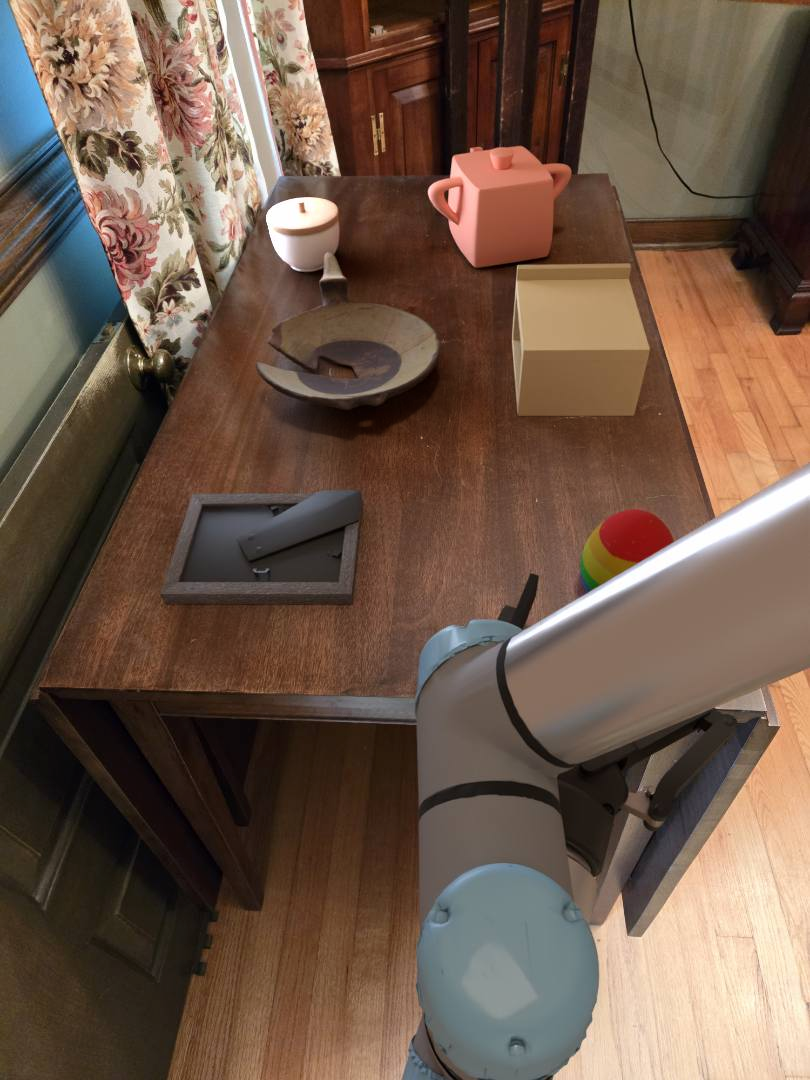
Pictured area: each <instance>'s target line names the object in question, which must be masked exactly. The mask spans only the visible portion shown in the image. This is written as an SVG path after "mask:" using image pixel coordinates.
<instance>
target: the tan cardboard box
mask: <svg viewBox="0 0 810 1080" xmlns="http://www.w3.org/2000/svg"><path fill="white" fill-rule="evenodd" d="M631 271H632V265H631V263H629V262H628V263H627V262H626V263H574V264H573V263H567V264H560V263H559V264H558V263H557V264H518V265H516V279H515V291H514V304H513V316H512V331H511V332H512V333H511V349H512V360H513V361H512V363H513V374H514V388H515V399H516V412H517V414H516V415H517V417H635V415H636V410H637V406H638V401H639V397H640V393H641V389H642V385H643V381H644V377H645V372H646V369H647V365H648V361H649V356H650V355H649V354H650V352H651V347H650V344H649V341H648V338H647V335H646V332H645V329H644V324H643V320H642V318H641V315H640V311H639V308H638V304H637V301H636V298H635V295H634V292H633V288H632V284H631V282H630V277H631Z"/></svg>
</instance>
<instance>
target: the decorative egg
mask: <svg viewBox="0 0 810 1080" xmlns="http://www.w3.org/2000/svg"><path fill="white" fill-rule="evenodd" d="M673 542H675V539H674V537H673V533H672V532H671V531H670V529H669V528H668V526H667V525H666V524H665V522H664V521H663V520H662V519H661V518H659V517H658V516H657V515H655V514H654V513H652V512H650V511H648V510H644V509H636V508H635V509H633V508H632V509H626V510H622V511H619V512H616V513H613V514H611V515H610V516H608V517H607V518H605V519H604V520H603V521H602V522H601V523H600V524H599V525H598V526H597V527H596V528H594V530H593V531H592V533H590V535H589V537H588V539H587V541H586V543H585V544H584V547H583V550H582V553H581V558H580V565H579V569H580V578H581V583H582V585H583V588H584V591H585V592H586V594H587V593H588V592H590V591H592V590H593V589H595V588H597V587H598V586H600V585H602V584H604V583H605V582H607V581H609V580H610V579H612V578H614V577H615V576H617V575H619V574H620V573H622V572H624V571H626V570H627V569H629V568H631V567H632V566H634V565H636V564H637V563H639V562H641V561H642V560H644V559H646V558H648V557H649V556H651V555H653V554H654V553H656V552H658V551H659V550H661V549H663V548H665V547H666V546H668V545H670V544H671V543H673Z"/></svg>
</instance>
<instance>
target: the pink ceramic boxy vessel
mask: <svg viewBox="0 0 810 1080" xmlns="http://www.w3.org/2000/svg"><path fill="white" fill-rule="evenodd" d="M450 167H451V168H450V175H449V178H444V179H441V180H437V181H435V182H433V183H432V184H431V185H430V186H429V187H428V189H427V195H428V198H429V201H430V202H431V204H432V206H433V207H434V208H435V209H436V210H437V211H438V212H439V213H440V214H442V215H443V216H444V217H446V218H447V220H448V226H449V230H450V233H451V235H452V238H453V240H454V242H455V244H456V246H457V247H458V249H459V250H460V252H461V253H462V254H463V256H464V257H465V258H466V260H467V261H468V262H469V264H471V265H472V266H473V267H474V268H485V267H492V266H499V265H504V264H511V263H517V262H524V261H530V260H535V259H541V258H545V257H548V255H549V253H550V250H551V246H552V241H553V234H554V233H553V231H554V207H555V206H554V205H555V203H554V202H555V200H557V198H559V196H560V195H561V194H562V193H563V192H564V190H565V189H566V187H567V186H568V184H569V182H570V180H571V177H572V172H573V171H572V169H571V167H570V166H569V165H567V164H565V163H557V162H555V163H553V162H552V163H544V164H543V163H542V162H541V161H540V159H538V158H537V157H536V156H535V155H534V154H533V153H532V152H531V151H530V150H528V149H527V148H526V147H524V146H522V145H516V146H507V147H506V146H505V147H503V146H500V147H494V148H492V149H485V150H484V148H483V147H481V146H475V147H470V148H469V152H466V153H465V152H464V153H460V154H454V155H453V156H452V158H451V166H450ZM552 175H555V177H554V179H553V176H552ZM447 191H448V198H447V200H446V198H445V192H447Z"/></svg>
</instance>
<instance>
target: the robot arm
mask: <svg viewBox="0 0 810 1080" xmlns="http://www.w3.org/2000/svg"><path fill="white" fill-rule="evenodd" d="M539 578H540V575H539V574H535V573H532V572H531V573H529V575H528V578H527V579H526V583H525V585H524V588H523V590H522V593H521V595H520V598H519V600H518V603H517V605H516V606H515V607H514V606H511V605H508V604H506V605H504V606H503V607H502V608H501V610H500V613H499V615H498V617H497V619H489V618H487V619H485V618H478V619H472V620H469V622H468V624H467V625H456V624H451V625H449V626H446V627H444V628H442V629H441V630H439V631H437V632H436V633H435V634H433V635H432V636H431V637H430V638H429V639H428V640H427V641H426V643H425V644H424V646H423V648H422V650H421V652H420V655H419V660H418V670H417V671H418V673H417V688H416V689H417V690H416V692H415V695H414V715H415V720H416V744H417V745H416V748H417V749H416V752H417V783H418V784H417V787H418V789H417V791H418V895H419V896H418V898H419V899H418V901H419V902H418V907H419V937H418V939H417V943H416V951H415V954H416V968H417V972H416V973H417V976H416V984H415V989H416V994H417V1000H418V1005H419V1007H420V1008H421V1010H422V1012H423V1013H422V1015H421V1018H420V1020H419V1023H418V1026H417V1030H416V1032H415V1033H414V1035H413V1037H412V1038H411V1040H410V1043H409V1046H408V1049H407V1052H408V1055H407V1060H406V1063H405V1066H404V1070H403V1074H402V1077H401V1080H554V1076H555V1075H557V1074H558V1072H560V1070H561V1069H563V1068H564V1067H565V1066H567V1065H568V1064H569V1061H570V1059H571V1058H572V1057H574V1056H575V1055H576V1054H577V1053H578V1052H579V1051H580V1049H581V1048H582V1045H583V1044H582V1043H583V1041H584V1040H585V1039H587V1030H588V1028H589V1027H590V1026H591V1024H592V1022H593V1012H594V1011H595V1010H594V1009H595V1006H596V1004H597V1002H598V994H599V987H600V962H599V961H600V960H599V953H598V949H597V945H596V941H595V938H594V934H593V932H592V930H591V927H590V924H591V920H592V917H593V916H592V915H593V911H594V907H595V903H596V898H597V895H598V889H599V884H598V882H597V879H596V877H598V876H600V875H601V874H602V872H603V869H604V864H605V860H606V856H607V852H608V847H609V844H610V839H611V835H612V831H613V827H614V822H615V819H616V816H617V815H618V813H620V812H621V811H624V812H626V813H629V814H630V815H632V816H634V817H636V818H637V819H638V818H639V819H640V820H642V824H643V826H644V828H645V829H647V830H648V831H650V832H658V831H660V829H661V828H662V826H663V824H664V823H665V821H666V820H667V818H668V816H669V814H670V812H671V808H672V805H673V802H674V801H675V799H676V798H677V797H678V796H679V795H680V794H681V792H683V790H684V789H685V788H686V787H687V786H688V785H689V784H690V783H691V782H692V781H693V780H694V779H695V777H697V776H698V774H699V773H700V772H701V771H702V770H703V769H704V768H705V767H706V766H707V765H708V764H709V763H710V761H712V760H713V759H714V757H715V756H716V755H717V754H718V753H719V752H720V751H721V750H723V748H724V747H725V746H726V745H727V744H728V742H729V740H730V739H731V737H732V736H733V734H734V732H735V731H736V729H737V727H738V726H739V725H738V723H739V721H738V719H737V718H736V717H735V716H734V715H732V714H729V713H722V712H720V711H719V710H717V707H719V706H722V705H724V704H727V703H729V702H731V701H734V700H736V699H739V698H741V697H743V696H746V695H748V694H750V693H753V692H755V691H758V690H761V689H763V688H765V687H767V686H770V685H772V684H775V683H777V682H779V681H782V680H784V679H787V678H789V677H791V676H795V675H796V674H799V673H802V672H803V671H807V670H809V669H810V461H809V462H807V463H804V465H802V466H800V467H798V468H797V469H794V470H793V471H792V472H790V473H788V474H787V475H785V476H783V477H782V478H780V479H778V480H776V481H775V482H773V483H771V484H770V485H768V486H766V487H765V488H763V489H761V490H759V491H758V492H756V493H754V494H752V495H751V496H749V497H748V498H745V499H744V500H743V501H740V502H739V503H737V504H736V505H734V506H732V507H730V508H729V509H727V510H725V511H724V512H722V513H720V514H719V515H716V516H715V517H714V518H712V519H711V520H709V521H707V522H705V523H703V524H702V525H700V526H699V527H697V528H695V529H693V530H692V531H690V532H688V533H687V534H684V535H683V536H681V537H680V538H678V539H677V540H674V542H673V543H671V544H670V545H668V546H666V547H665V548H663V549H661V550H659V551H658V552H656V553H654V554H653V555H651V556H649V557H648V558H646V559H644V560H642V561H641V562H639V563H637V564H636V565H634V566H632V567H631V568H629V569H627V570H626V571H624V572H622V573H620V574H619V575H617V576H615V577H614V578H612V579H610V580H609V581H607V582H605V583H604V584H602V585H600V586H598V587H597V588H595V589H593V590H592V591H590V592H588V593H587V592H586V593H585V594H583V595H581V596H579V597H578V598H576V599H574V600H572V601H571V602H569V603H568V604H566V605H565V606H562V607H560V608H559V609H557V610H556V611H554V612H552V613H551V614H549V615H547V616H545V617H544V618H542V619H541V620H539V621H537V622H536V623H534V624H532V625H531V626H528V627H527V628H525V626H526V623H527V620H528V618H529V615H530V613H531V610H532V607H533V605H534V602H535V600H536V597H537V592H538V585H539ZM524 628H525V629H524ZM701 731H702V732H704V733H703V734H702V735H700V737H699V738H698V739H697V740H696V741H695V742H694V743H693V744H692V746H690V747H689V748H688V749H687V750H686V751H685V753H683V754H682V755H681V757H679V759H677V761H676V762H675V763H673V765H672V766H671V767H670V768H669V769H668V770H667V771H666V772H665V773H664V774H663V776H661V778H660V780H659V781H658V783H657V785H656V786H654V785H644V786H643V787H642V788H641V789H640V790H639V791H637V792H631V791H630V790H629V786H628V784H627V781H626V780H625V777H624V775H623V774H624V773H625V772H627V771H629V770H630V769H631V768H632V767H633V766H634V765H637V764H638V763H640V762H643V761H644V760H645V759H647V758H649V757H651V756H653V755H655V754H656V753H658V752H660V751H662V750H664V749H665V748H668V747H669V746H672V745H673V744H675V743H677V742H678V741H680V740H682V739H684V738H685V737H687V736H689V735H691V734H693V733H695V732H697V733H698V734H699V733H700V732H701Z"/></svg>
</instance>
